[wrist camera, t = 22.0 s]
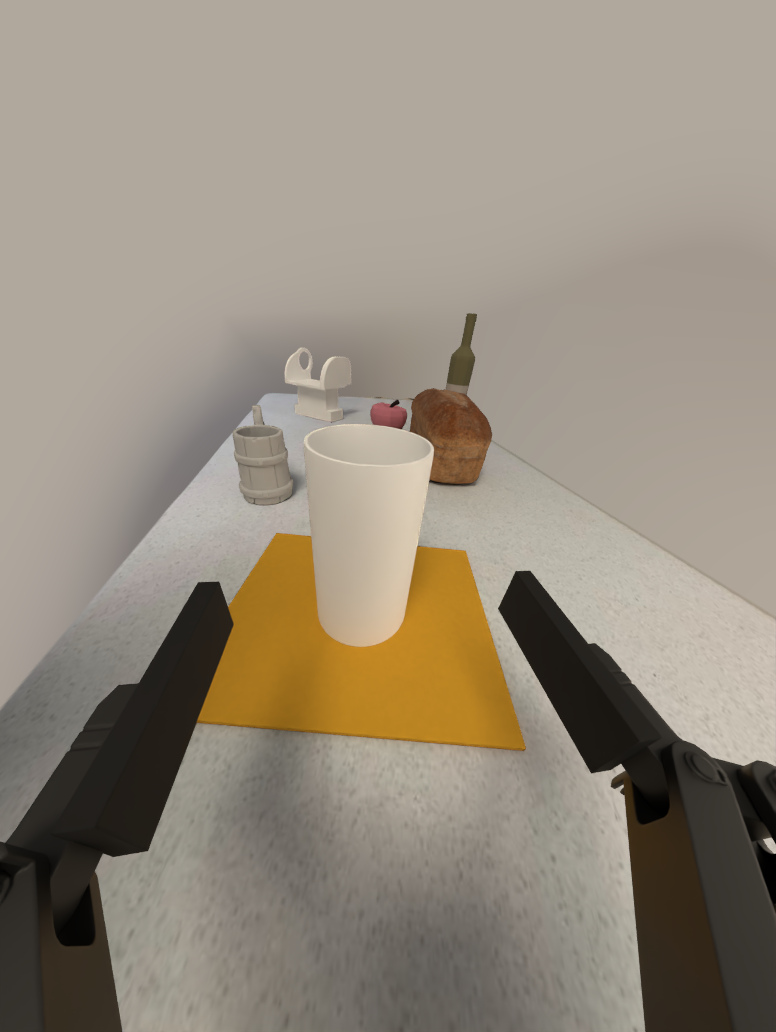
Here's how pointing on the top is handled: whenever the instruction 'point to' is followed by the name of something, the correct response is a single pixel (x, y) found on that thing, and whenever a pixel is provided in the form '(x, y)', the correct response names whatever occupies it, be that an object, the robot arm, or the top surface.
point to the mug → (262, 462)
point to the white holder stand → (318, 386)
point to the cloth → (363, 659)
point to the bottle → (462, 360)
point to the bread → (452, 434)
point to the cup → (365, 525)
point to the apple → (388, 415)
